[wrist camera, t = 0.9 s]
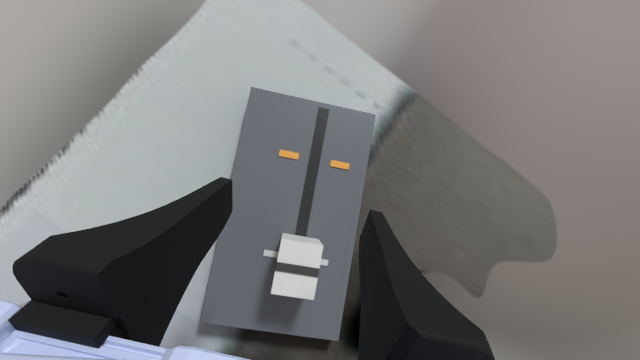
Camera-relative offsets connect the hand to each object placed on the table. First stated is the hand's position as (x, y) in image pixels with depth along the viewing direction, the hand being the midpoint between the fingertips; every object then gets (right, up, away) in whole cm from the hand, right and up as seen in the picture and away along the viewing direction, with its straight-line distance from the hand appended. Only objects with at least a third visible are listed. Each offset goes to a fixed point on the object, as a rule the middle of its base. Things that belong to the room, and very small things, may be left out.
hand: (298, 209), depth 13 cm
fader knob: (-1, -5, +9) cm, 11 cm away
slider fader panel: (-1, -1, +12) cm, 12 cm away
